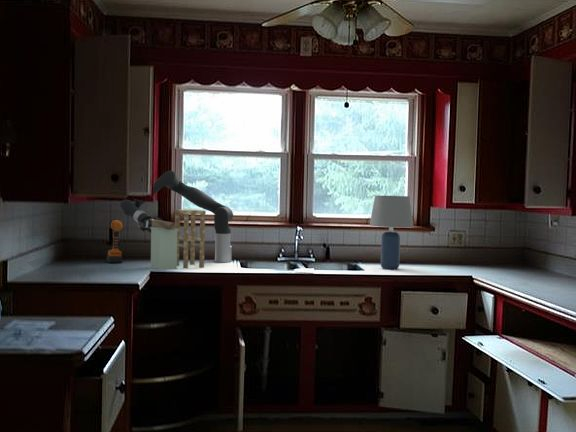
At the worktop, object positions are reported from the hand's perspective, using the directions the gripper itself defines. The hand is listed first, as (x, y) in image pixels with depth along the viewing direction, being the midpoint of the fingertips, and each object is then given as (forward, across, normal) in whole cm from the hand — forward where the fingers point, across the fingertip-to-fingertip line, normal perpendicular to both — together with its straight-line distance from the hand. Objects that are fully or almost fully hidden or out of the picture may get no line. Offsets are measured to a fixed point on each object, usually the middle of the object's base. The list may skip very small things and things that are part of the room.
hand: (158, 229), depth 338 cm
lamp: (+103, -91, -10) cm, 137 cm away
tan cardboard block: (+12, +5, +9) cm, 16 cm away
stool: (+26, -2, -13) cm, 29 cm away
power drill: (-14, +22, -22) cm, 34 cm away
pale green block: (+22, +12, -10) cm, 27 cm away
